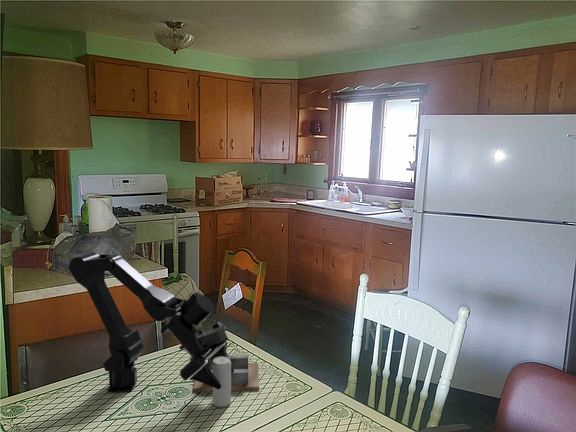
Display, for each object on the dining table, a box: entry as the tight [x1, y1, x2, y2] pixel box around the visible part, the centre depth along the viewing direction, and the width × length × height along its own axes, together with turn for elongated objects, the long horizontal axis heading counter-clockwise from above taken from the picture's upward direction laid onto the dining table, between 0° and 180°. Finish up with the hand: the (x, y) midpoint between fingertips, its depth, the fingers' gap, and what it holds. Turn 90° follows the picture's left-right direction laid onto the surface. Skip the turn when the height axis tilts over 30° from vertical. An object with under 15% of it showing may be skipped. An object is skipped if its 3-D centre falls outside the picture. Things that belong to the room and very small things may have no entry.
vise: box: [193, 354, 260, 393], centre depth 136 cm, size 18×15×4 cm
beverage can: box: [212, 356, 232, 408], centre depth 122 cm, size 5×5×12 cm
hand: (226, 380), depth 121 cm, fingers open, 8 cm apart
